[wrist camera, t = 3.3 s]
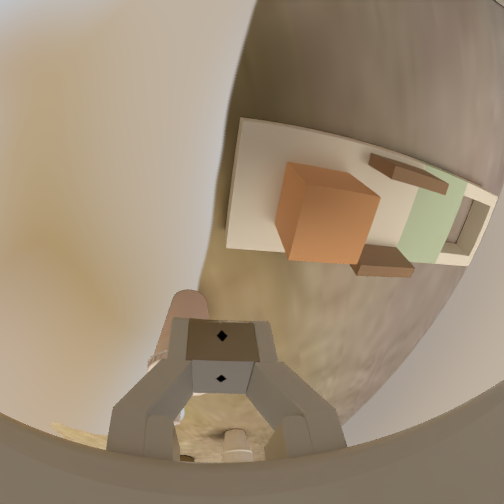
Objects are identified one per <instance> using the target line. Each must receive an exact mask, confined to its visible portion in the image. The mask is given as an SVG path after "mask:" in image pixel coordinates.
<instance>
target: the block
mask: <svg viewBox="0 0 504 504" xmlns="http://www.w3.org/2000/svg"><path fill="white" fill-rule="evenodd" d="M380 199H381V197H380V196H379V195H377V194H376V193H375V192H374V191H372V190H371V189H370V188H368V187H367V186H366V185H364V184H363V183H362V182H360V181H359V180H358V179H356V178H355V177H354V176H352V175H351V174H350V173H346V172H342V171H337V170H332V169H326V168H321V167H316V166H310V165H304V164H298V163H292V162H287V165H286V170H285V175H284V180H283V185H282V190H281V195H280V200H279V205H278V209H277V214H276V219H275V226H276V229H277V232H278V234H279V237H280V239H281V242H282V245H283V247H284V250H285V253H286V255H287V258H288V260H295V261H310V262H325V263H341V264H357V263H358V260H359V258H360V255H361V253H362V250H363V247H364V245H365V242H366V239H367V237H368V234H369V231H370V228H371V226H372V223H373V220H374V217H375V214H376V211H377V208H378V205H379V202H380Z"/></svg>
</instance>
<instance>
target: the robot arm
mask: <svg viewBox="0 0 504 504" xmlns="http://www.w3.org/2000/svg"><path fill="white" fill-rule="evenodd" d="M496 1H497V2H498V3H499V4H500V5H502V6H504V0H496ZM193 393H230V394H246V396H247V397H248V398H249V400H250V401H251V402H252V403H253V405H254V406H255V407H256V409H257V410H258V411H259V412H260V414H261V415H262V416H263V417H264V418H265V420H266V421H267V422H268V423H269V425H270V426H271V427H272V428H273V429H274V431H275V432H274V433H273V435H272V436H271V438H270V439H269V441H268V442H267V444H266V445H265V447H264V451H265V458H266V461H254V462H231V463H208V462H185V461H180V446H179V442H178V438H177V435H176V431H175V427H174V422H173V421H174V420H175V419H176V417H177V416H178V415H179V413H180V412H181V410H182V409H183V408H184V406H185V405H186V403H187V402H188V401H189V399H190V398H191V396H192V395H193ZM0 504H504V380H503V381H501V382H500V383H498V384H496V385H495V386H493V387H492V388H490V389H488V390H487V391H485V392H483V393H482V394H480V395H478V396H477V397H475V398H473V399H471V400H469V401H468V402H466V403H464V404H462V405H460V406H458V407H456V408H454V409H452V410H450V411H448V412H446V413H444V414H442V415H439V416H437V417H435V418H433V419H431V420H428V421H426V422H423V423H421V424H419V425H416V426H413V427H411V428H409V429H406V430H403V431H400V432H397V433H395V434H392V435H389V436H386V437H382V438H379V439H376V440H373V441H370V442H366V443H362V444H358V445H355V446H351V447H347V444H346V441H345V438H344V434H343V431H342V428H341V425H340V421H339V418H338V415H337V412H336V409H335V408H334V407H333V406H331V405H330V404H329V403H328V402H327V401H326V400H325V399H323V398H322V397H321V396H320V395H319V394H318V393H317V392H316V391H314V390H313V389H312V388H311V387H310V386H309V385H308V384H307V383H306V382H304V381H303V380H302V379H301V378H300V377H299V376H298V375H297V374H296V373H295V372H294V371H293V370H291V369H290V368H289V367H288V366H287V365H286V364H285V363H284V362H278V357H277V353H276V348H275V344H274V339H273V335H272V330H271V326H270V323H269V322H268V321H229V320H221V321H220V320H207V319H195V318H190V319H189V318H180V317H173V319H172V323H171V330H170V338H169V345H168V353H167V359H164V358H162V359H161V360H160V361H159V362H158V363H157V364H156V365H155V366H154V367H153V368H152V369H151V370H150V371H149V372H148V373H147V374H146V375H145V376H144V377H143V378H142V379H141V380H140V381H139V382H138V383H137V384H136V385H135V386H134V387H133V388H132V389H131V390H130V391H129V392H128V393H127V394H126V395H125V396H124V397H123V398H122V399H121V400H120V401H119V402H118V403H117V404H116V405H115V406H114V407H113V410H112V416H111V422H110V427H109V434H108V440H107V447H106V450H103V449H99V448H95V447H91V446H87V445H83V444H80V443H76V442H73V441H70V440H67V439H63V438H60V437H57V436H54V435H52V434H49V433H46V432H43V431H41V430H38V429H36V428H33V427H31V426H28V425H26V424H24V423H21V422H19V421H17V420H15V419H12V418H10V417H8V416H6V415H4V414H2V413H0Z"/></svg>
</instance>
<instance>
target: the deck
mask: <svg viewBox="0 0 504 504" xmlns="http://www.w3.org/2000/svg"><path fill="white" fill-rule="evenodd" d="M287 162H292V163H298V164H304V165H310V166H316V167H321V168H326V169H332V170H337V171H342V172H346V173H350V174H351V175H352V176H354V177H355V178H356V179H358V180H359V181H360V182H362V183H363V184H364V185H366V186H367V187H368V188H370V189H371V190H372V191H374V192H375V193H376V194H377V195H379V196H380V197H381V199H380V202H379V205H378V208H377V211H376V214H375V217H374V220H373V223H372V226H371V228H370V231H369V234H368V237H367V239H366V242H365V245H364V247H363V250H362V253H361V255H360V258H359V260H358V263H357V264H350V266H351V267H352V269H353V271H354V272H355V274H356V275H357V276H382V277H411V275H412V273H413V271H414V269H415V268H414V267H413V265H412V264H411V263H410V262H420V263H433V264H446V265H459V266H468V265H469V263H470V262H471V260H472V258H473V255H474V253H475V251H476V249H477V247H478V245H479V243H480V241H481V238H482V236H483V234H484V232H485V229H486V227H487V224H488V222H489V220H490V217H491V214H492V212H493V209H494V207H495V204H496V201H497V198H498V197H497V196H496V195H494V194H492V193H491V192H489V191H488V190H486V189H484V188H483V187H481V186H479V185H477V184H475V183H473V182H471V181H468V180H466V179H464V178H462V177H460V176H457V175H455V174H453V173H451V172H448V171H446V170H443V169H441V168H439V167H436V166H434V165H431V164H428V163H426V162H423V161H421V160H418V159H415V158H412V157H410V156H407V155H404V154H401V153H398V152H395V151H392V150H389V149H386V148H383V147H379V146H376V145H373V144H369V143H366V142H362V141H359V140H355V139H352V138H348V137H344V136H340V135H336V134H332V133H327V132H323V131H319V130H314V129H309V128H304V127H299V126H294V125H289V124H283V123H277V122H271V121H265V120H258V119H251V118H243V117H240V122H239V129H238V136H237V143H236V150H235V157H234V165H233V172H232V180H231V187H230V195H229V203H228V211H227V219H226V228H225V237H226V248H233V249H247V250H260V251H274V252H285V250H284V247H283V245H282V242H281V239H280V237H279V234H278V232H277V229H276V226H275V219H276V214H277V209H278V205H279V200H280V195H281V190H282V185H283V180H284V175H285V170H286V165H287ZM463 196H467V197H469V198H472V199H474V201H473V203H472V206H471V209H470V211H469V214H468V217H467V219H466V222H465V224H464V226H463V229H462V231H461V233H460V236H459V238H458V240H457V242H456V244H455V243H449V242H445V241H446V239H447V236H448V234H449V232H450V229H451V227H452V224H453V222H454V220H455V217H456V215H457V212H458V209H459V207H460V204H461V201H462V198H463Z"/></svg>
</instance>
